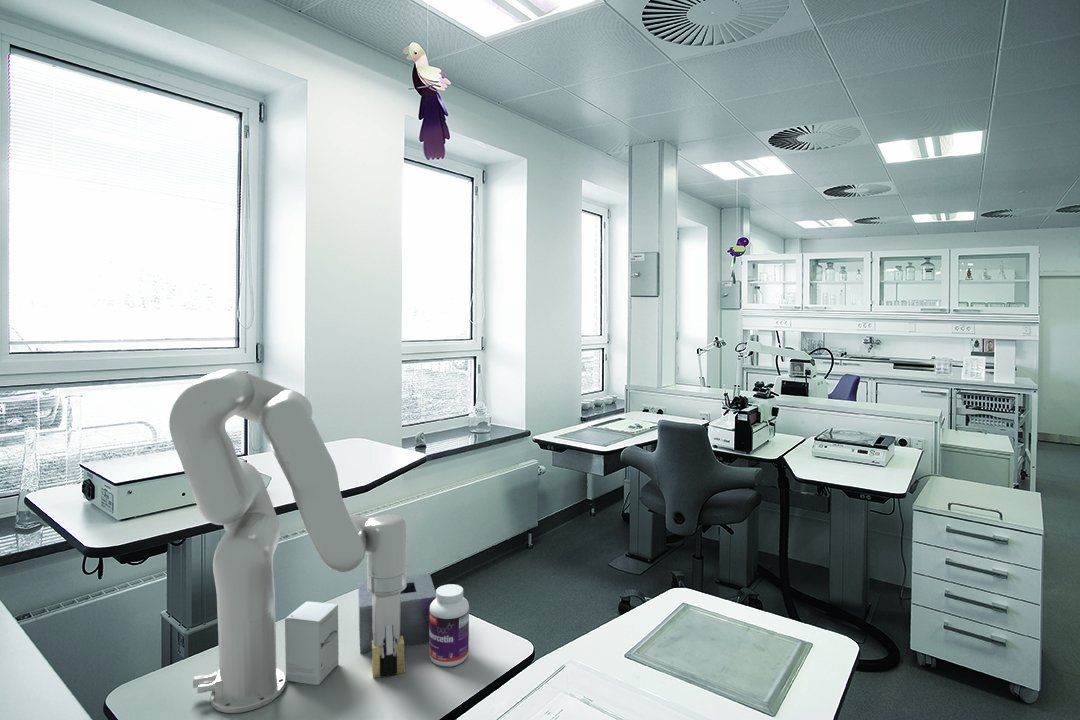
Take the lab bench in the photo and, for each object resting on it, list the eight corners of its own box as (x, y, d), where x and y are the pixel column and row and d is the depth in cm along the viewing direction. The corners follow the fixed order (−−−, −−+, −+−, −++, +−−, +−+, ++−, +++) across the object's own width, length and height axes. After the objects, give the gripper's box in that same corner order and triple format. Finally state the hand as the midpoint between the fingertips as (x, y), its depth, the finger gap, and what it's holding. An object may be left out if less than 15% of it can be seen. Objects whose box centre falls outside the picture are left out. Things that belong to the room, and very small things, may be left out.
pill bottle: (421, 662, 120) (420, 593, 119) (445, 643, 127) (445, 578, 126) (453, 673, 117) (453, 602, 116) (476, 653, 124) (476, 586, 123)
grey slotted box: (360, 653, 123) (359, 607, 122) (358, 625, 134) (358, 582, 134) (437, 641, 128) (437, 596, 127) (429, 614, 140) (429, 573, 139)
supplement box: (319, 686, 112) (318, 621, 111) (284, 681, 114) (283, 617, 113) (340, 664, 119) (339, 603, 119) (307, 659, 121) (305, 599, 120)
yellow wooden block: (372, 678, 115) (372, 648, 114) (372, 669, 118) (371, 640, 117) (404, 672, 117) (404, 643, 116) (402, 664, 119) (402, 635, 119)
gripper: (365, 565, 122) (366, 651, 124) (368, 601, 107) (369, 698, 108) (402, 561, 125) (403, 645, 126) (410, 595, 109) (411, 691, 111)
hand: (387, 669), depth 117 cm, fingers closed on yellow wooden block, 2 cm apart
